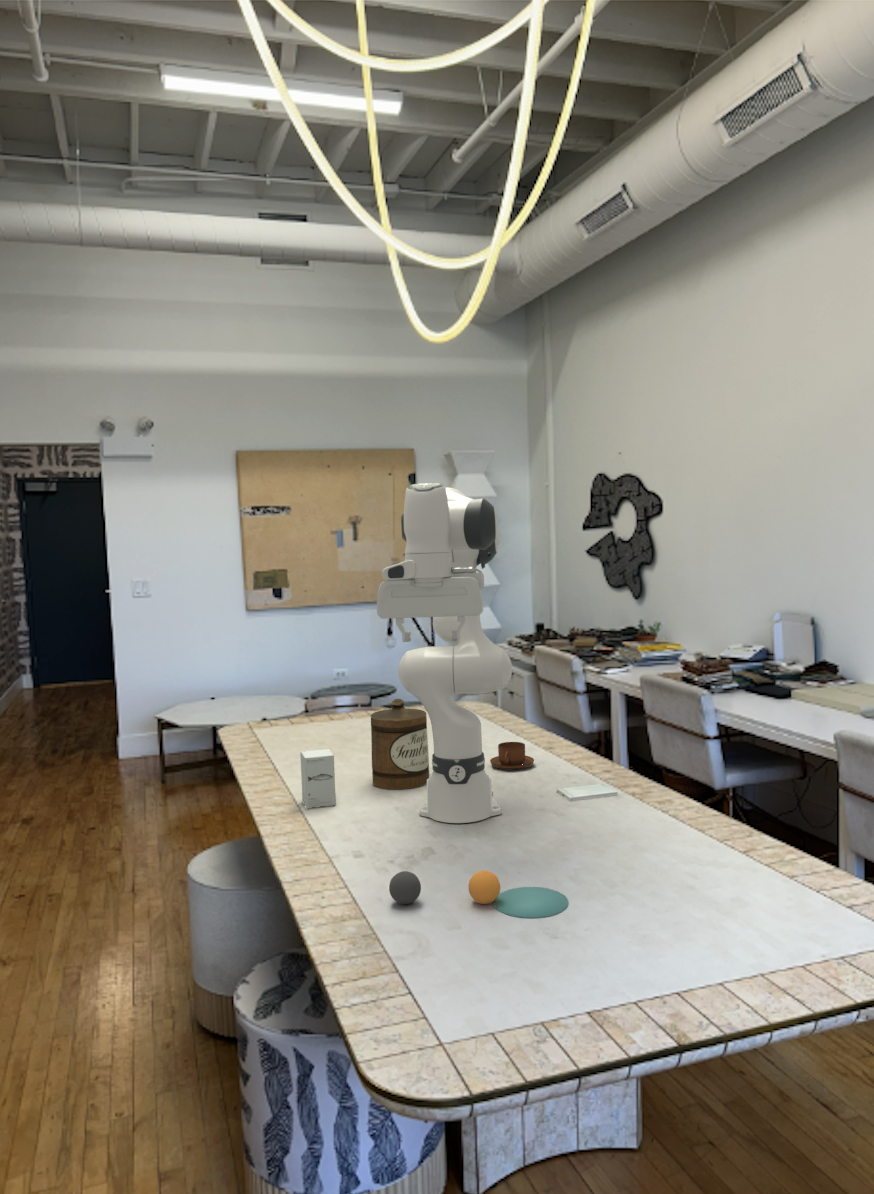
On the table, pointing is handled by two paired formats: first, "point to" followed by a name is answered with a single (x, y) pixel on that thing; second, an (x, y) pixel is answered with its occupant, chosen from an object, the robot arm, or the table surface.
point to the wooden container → (399, 747)
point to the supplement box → (318, 778)
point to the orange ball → (484, 887)
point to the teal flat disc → (531, 902)
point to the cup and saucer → (511, 756)
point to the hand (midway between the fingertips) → (431, 640)
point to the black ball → (405, 887)
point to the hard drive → (586, 792)
